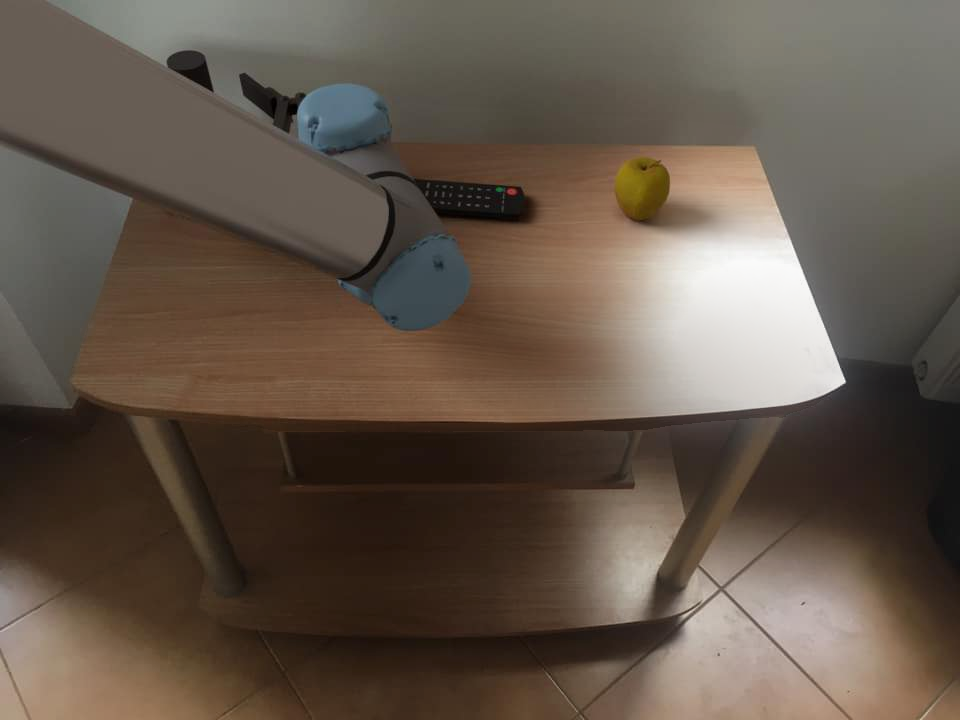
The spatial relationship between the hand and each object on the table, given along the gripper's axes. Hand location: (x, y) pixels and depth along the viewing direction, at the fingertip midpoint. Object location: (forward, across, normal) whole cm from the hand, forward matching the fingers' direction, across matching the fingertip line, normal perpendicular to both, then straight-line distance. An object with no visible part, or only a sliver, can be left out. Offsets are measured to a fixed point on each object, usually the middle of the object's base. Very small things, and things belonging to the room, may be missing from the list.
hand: (191, 104), depth 89 cm
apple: (-38, +36, -11) cm, 54 cm away
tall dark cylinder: (-1, 0, -10) cm, 10 cm away
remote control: (-20, +18, -11) cm, 29 cm away
